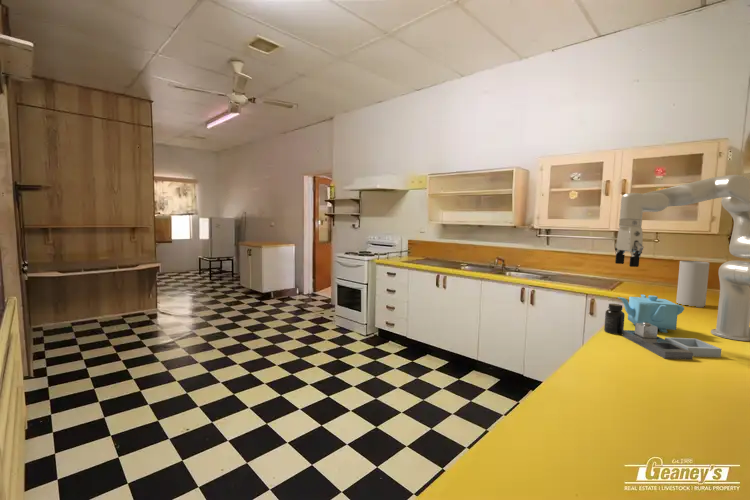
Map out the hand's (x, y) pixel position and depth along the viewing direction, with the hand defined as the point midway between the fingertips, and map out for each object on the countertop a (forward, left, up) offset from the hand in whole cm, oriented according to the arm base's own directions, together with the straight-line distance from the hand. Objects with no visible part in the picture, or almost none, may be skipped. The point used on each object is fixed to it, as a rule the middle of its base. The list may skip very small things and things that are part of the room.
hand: (626, 265), depth 147 cm
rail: (-3, +15, -29) cm, 33 cm away
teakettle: (-17, -10, -29) cm, 35 cm away
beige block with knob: (-3, +10, -29) cm, 31 cm away
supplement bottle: (+2, -2, -29) cm, 30 cm away
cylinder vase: (-73, -60, -29) cm, 99 cm away
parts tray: (-14, +18, -29) cm, 37 cm away
